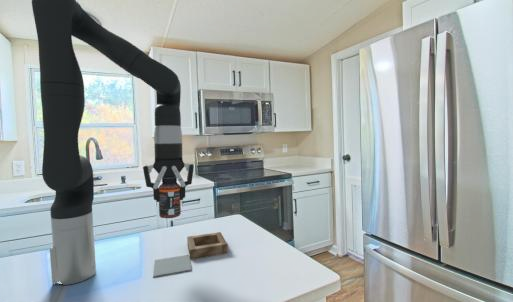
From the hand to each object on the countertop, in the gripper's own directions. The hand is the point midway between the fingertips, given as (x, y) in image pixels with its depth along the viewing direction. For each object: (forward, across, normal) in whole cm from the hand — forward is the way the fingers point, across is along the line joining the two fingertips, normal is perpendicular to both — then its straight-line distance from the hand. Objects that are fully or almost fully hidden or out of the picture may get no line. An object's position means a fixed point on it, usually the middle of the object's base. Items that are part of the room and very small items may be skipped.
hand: (169, 200), depth 78 cm
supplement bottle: (+5, 0, 0) cm, 5 cm away
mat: (+19, 0, -1) cm, 19 cm away
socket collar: (+19, +11, +7) cm, 23 cm away
